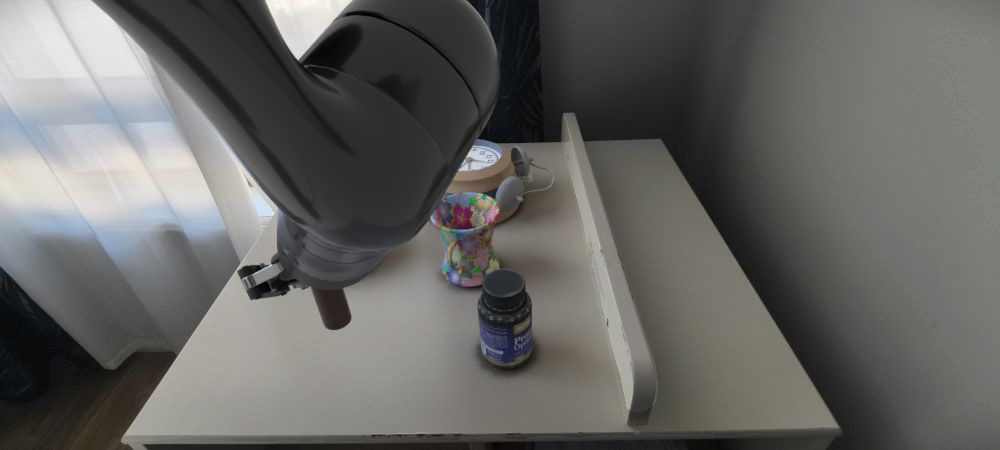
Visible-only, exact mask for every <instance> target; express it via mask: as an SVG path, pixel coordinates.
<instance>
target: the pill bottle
mask: <svg viewBox="0 0 1000 450" xmlns="http://www.w3.org/2000/svg"><path fill="white" fill-rule="evenodd" d="M481 287H482V291H481V292H482V293H481V294H480V295H479V298H478V299H477V315H478V326H479V327H478V329H479V337H480V338H479V339H480V346H481V347H480V348H481V354H482V356H483V358H484V360H485V361H486V363H488V364H489V365H491V366H492V367H494V368H497V369H500V370H514V369H517V368H520V367H521V366H523V365H524V364H526V363H527V361H528V360H529V359H530V358H531V355H532V352H533V300H532V298H531V296H530V294H529V292H528V291H527V290H526V289H527V288H526V279H525V277H524V275H522V273H520V272H519V271H517V270H515V269H511V268H499V269H497V270H494V271H492V272H490V273H488V274H487V275H486V276H485V277H484V279H483V282H482V285H481Z"/></svg>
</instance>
